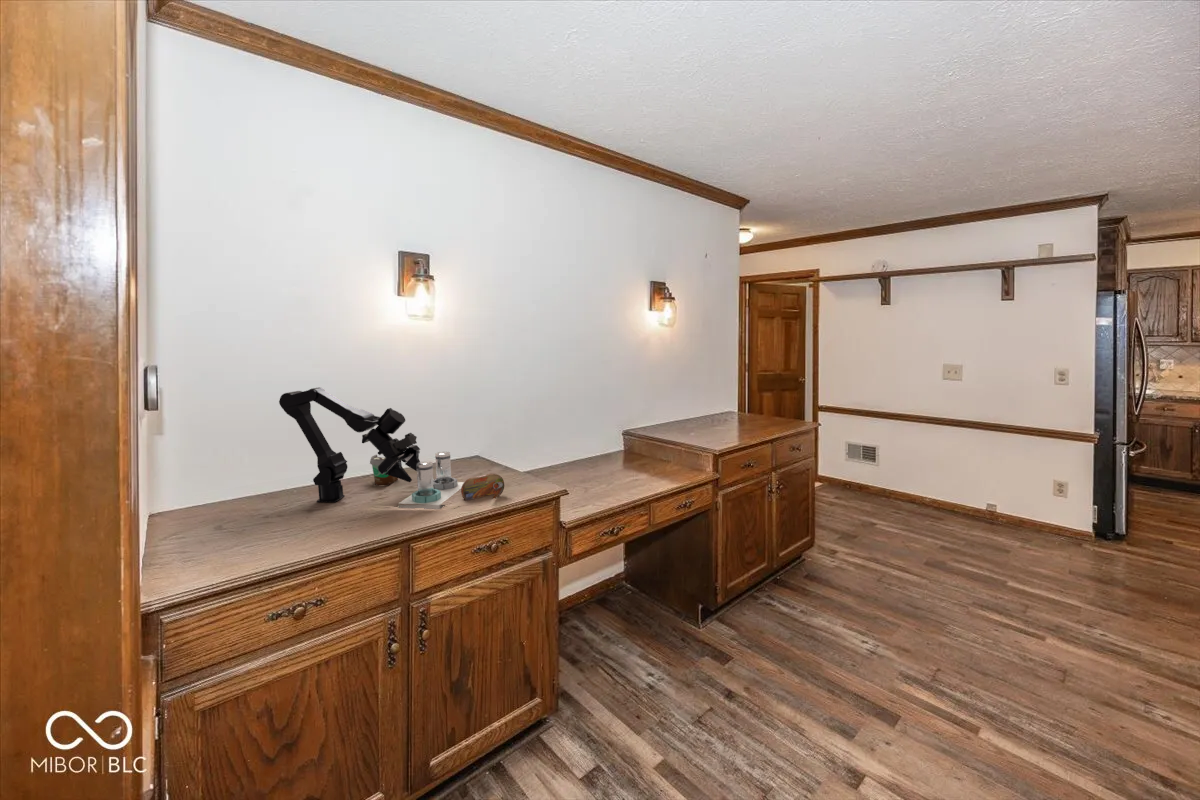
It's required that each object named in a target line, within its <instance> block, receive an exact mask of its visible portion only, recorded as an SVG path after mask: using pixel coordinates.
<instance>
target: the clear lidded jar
mask: <svg viewBox="0 0 1200 800" xmlns="http://www.w3.org/2000/svg"><path fill="white" fill-rule="evenodd" d="M451 462H452V461H451V452H449V451H439V452H438V451H437V452H436V453H435V474H436V479H437V483H442V484H444V483H450V482H451V477H452V467H451V466H452V464H451Z"/></svg>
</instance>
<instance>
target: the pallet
mask: <svg viewBox="0 0 1200 800" xmlns="http://www.w3.org/2000/svg"><path fill="white" fill-rule="evenodd" d="M433 481H434V495H429V496H418V490H415V491H414V492H412V493H411V495H409V496H407V497H406V498H404V499H403V500H401V501H400V502H398V506H397V507H398V508H399V509H415V508H424V509H423V510H441V509H442V508H444V507H446V504H443V503H445V502H446V501H447V500H448V499H450V498H451V497H452V496H454V495H455V494H456V493H457V492H459V491H461V488H462V485H463V483H464V482H465V481H458V478H455V477H452V476H451V482H450V483H444V484H442V483H437V478H435V479H434V478H433ZM443 506H444V507H443Z"/></svg>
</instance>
